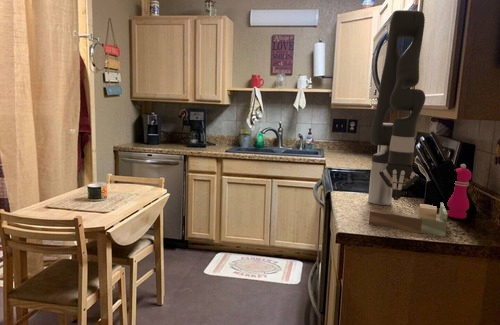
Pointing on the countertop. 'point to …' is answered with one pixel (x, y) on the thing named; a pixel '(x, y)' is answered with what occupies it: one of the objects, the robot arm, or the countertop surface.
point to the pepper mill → (459, 194)
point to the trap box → (410, 221)
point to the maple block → (427, 212)
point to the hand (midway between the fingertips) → (395, 199)
